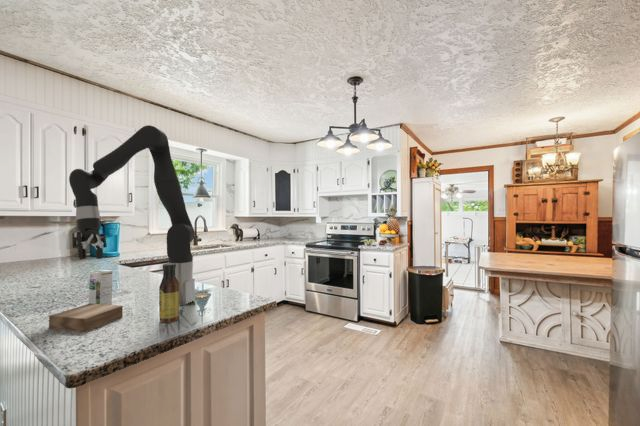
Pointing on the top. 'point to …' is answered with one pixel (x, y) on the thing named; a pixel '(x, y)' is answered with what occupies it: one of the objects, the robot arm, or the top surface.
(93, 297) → the syrup box
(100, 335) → the top surface
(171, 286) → the sauce bottle
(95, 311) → the walnut plinth
